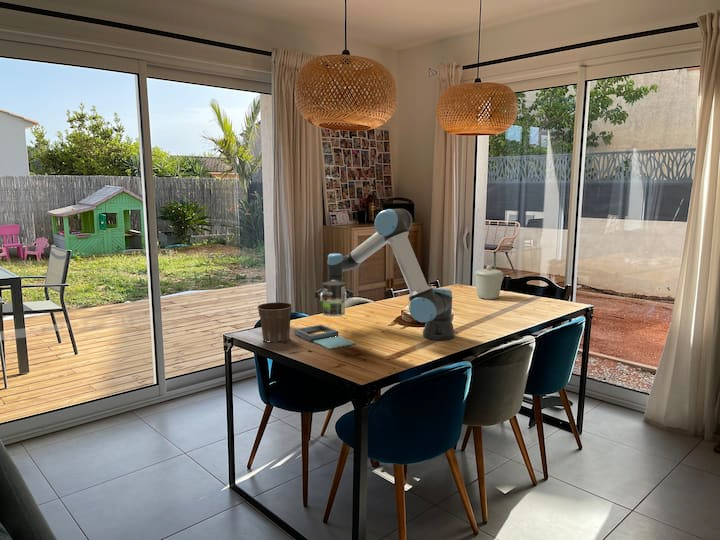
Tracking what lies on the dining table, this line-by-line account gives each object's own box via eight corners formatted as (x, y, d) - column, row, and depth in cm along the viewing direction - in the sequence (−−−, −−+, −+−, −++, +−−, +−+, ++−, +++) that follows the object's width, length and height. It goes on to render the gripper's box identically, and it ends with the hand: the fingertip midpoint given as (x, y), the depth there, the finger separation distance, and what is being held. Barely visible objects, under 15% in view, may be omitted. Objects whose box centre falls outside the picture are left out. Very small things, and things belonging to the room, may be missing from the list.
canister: (473, 294, 355) (474, 263, 352) (501, 295, 352) (502, 263, 349) (474, 300, 338) (475, 267, 334) (503, 301, 335) (505, 267, 331)
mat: (338, 337, 256) (338, 336, 256) (355, 344, 245) (355, 342, 245) (313, 342, 248) (313, 340, 248) (329, 349, 237) (329, 348, 237)
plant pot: (253, 343, 246) (252, 309, 243) (264, 334, 262) (263, 301, 259) (288, 345, 244) (287, 310, 241) (297, 335, 259) (296, 302, 257)
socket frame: (321, 329, 270) (321, 324, 269) (338, 336, 257) (338, 331, 257) (294, 334, 261) (294, 329, 261) (310, 341, 249) (310, 336, 248)
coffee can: (333, 317, 237) (332, 286, 235) (317, 313, 244) (317, 283, 242) (349, 313, 244) (349, 283, 242) (334, 310, 251) (334, 280, 249)
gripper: (358, 296, 262) (358, 306, 240) (311, 296, 261) (307, 306, 239) (358, 281, 260) (358, 289, 238) (311, 281, 260) (307, 290, 238)
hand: (333, 298), depth 239 cm, fingers closed on coffee can, 10 cm apart
